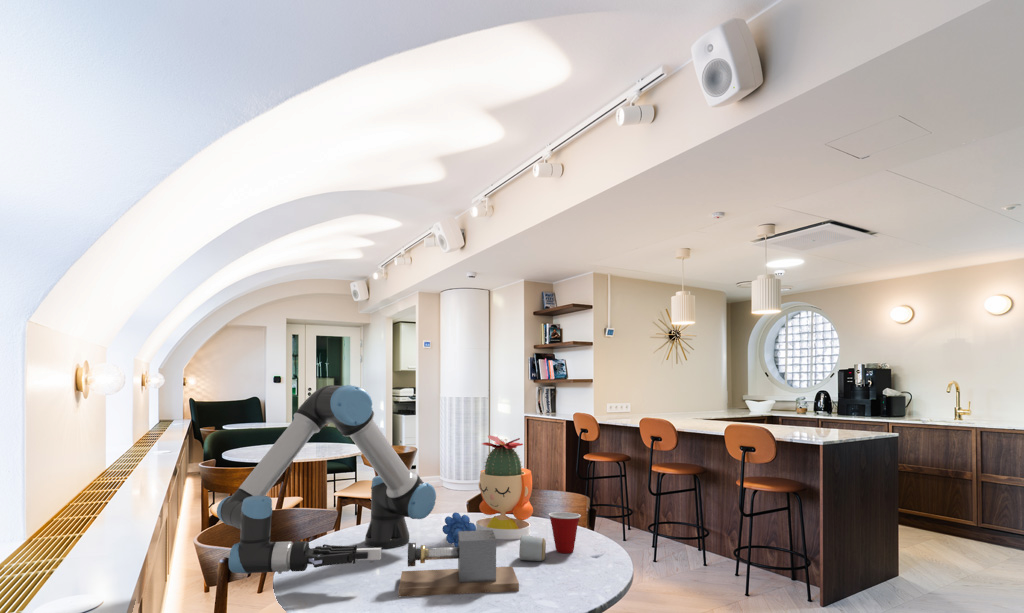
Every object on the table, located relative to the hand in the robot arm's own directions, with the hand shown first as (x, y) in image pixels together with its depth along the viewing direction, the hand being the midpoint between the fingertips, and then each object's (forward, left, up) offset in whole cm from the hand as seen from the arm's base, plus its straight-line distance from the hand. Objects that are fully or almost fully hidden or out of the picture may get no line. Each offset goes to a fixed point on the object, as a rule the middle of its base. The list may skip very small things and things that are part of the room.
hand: (380, 553), depth 161 cm
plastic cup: (+49, +41, -9) cm, 64 cm away
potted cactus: (+26, +63, -9) cm, 69 cm away
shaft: (+16, +4, -4) cm, 17 cm away
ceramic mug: (+39, +31, -9) cm, 51 cm away
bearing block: (+26, +7, -7) cm, 27 cm away
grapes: (+14, +37, -9) cm, 40 cm away
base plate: (+22, +6, -9) cm, 24 cm away
